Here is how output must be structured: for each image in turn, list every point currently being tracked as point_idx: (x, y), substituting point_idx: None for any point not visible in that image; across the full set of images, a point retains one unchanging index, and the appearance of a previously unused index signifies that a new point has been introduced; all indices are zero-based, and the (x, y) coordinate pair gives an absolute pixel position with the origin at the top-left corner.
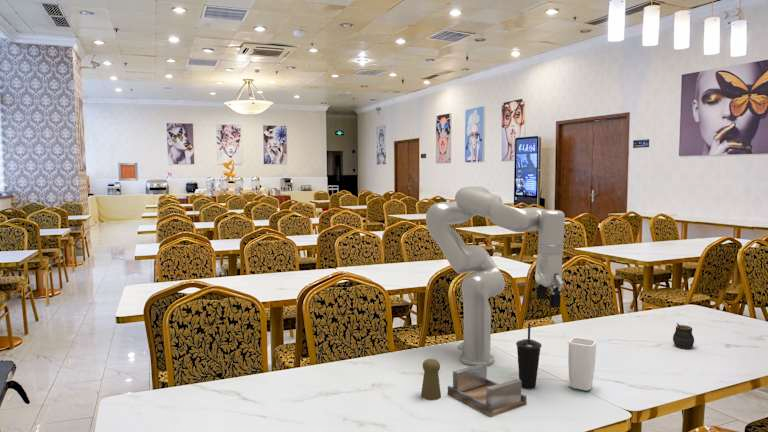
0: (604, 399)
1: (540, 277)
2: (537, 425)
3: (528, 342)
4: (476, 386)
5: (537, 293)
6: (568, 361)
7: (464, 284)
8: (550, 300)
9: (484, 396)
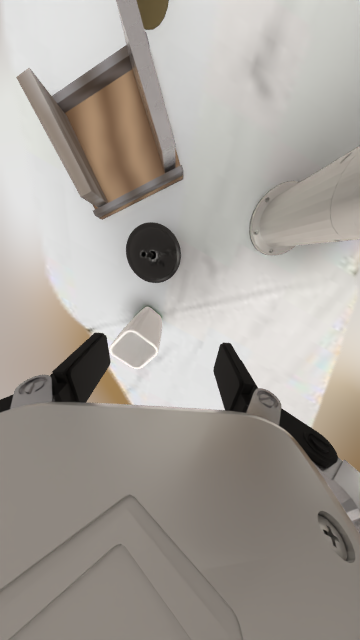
0: (117, 323)
1: (132, 514)
2: (34, 198)
3: (140, 247)
4: (155, 142)
5: (231, 357)
6: (142, 316)
7: None
8: (78, 348)
9: (118, 142)
